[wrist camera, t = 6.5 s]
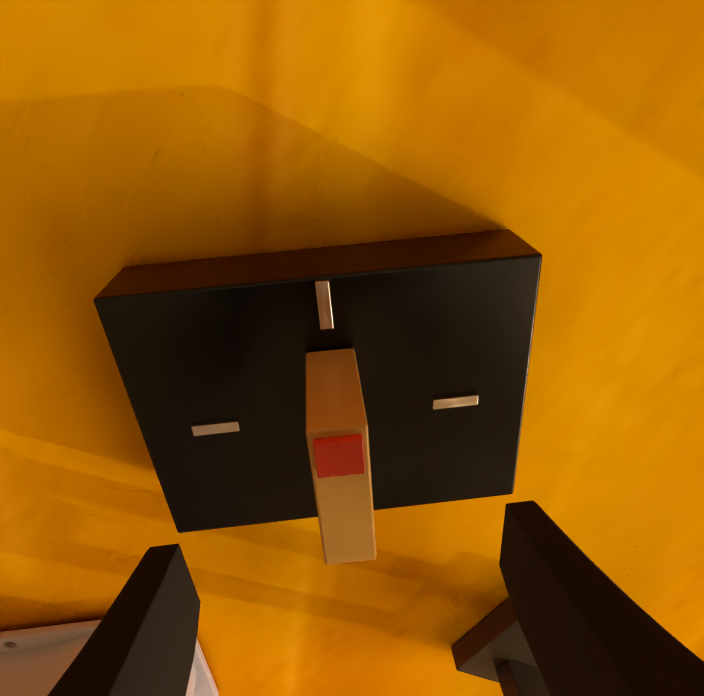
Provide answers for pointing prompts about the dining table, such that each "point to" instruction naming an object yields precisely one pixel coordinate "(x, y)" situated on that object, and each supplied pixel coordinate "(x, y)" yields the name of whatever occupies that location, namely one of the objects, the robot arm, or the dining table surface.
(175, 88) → the dining table surface
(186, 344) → the plate
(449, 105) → the dining table surface
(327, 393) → the tan block red patch
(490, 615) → the lever bracket
